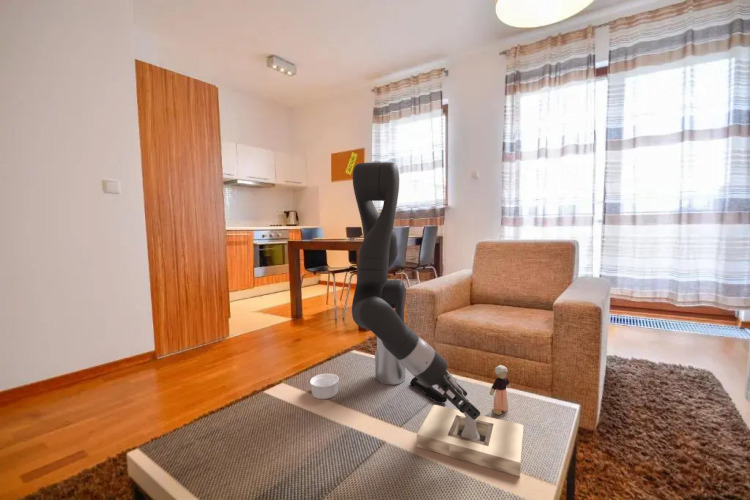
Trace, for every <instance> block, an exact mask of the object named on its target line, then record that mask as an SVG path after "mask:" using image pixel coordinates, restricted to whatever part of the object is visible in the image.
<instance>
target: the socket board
mask: <svg viewBox="0 0 750 500" xmlns="http://www.w3.org/2000/svg"><path fill="white" fill-rule="evenodd" d="M465 417H466V416H465V415H464V413H462V412H460V410H459V409H455V408H451V407H446V406H441V405H438V404H433V406H432V407H431V409H430V411H429V413H428V414H427V416H426V418H425V419H424V421H423V423H422V424H421V426H420V428H419V430H418V432H417V433H416V447H417V448H419V449H420V448H421V449H423V450H428V451H431V452H435V453H438V454H441V455H445V456H448V457H451V458H455V459H458V460H461V461H465V462H469V463H472V464H475V465H478V466H482V467H486V468H489V469H493V470H497V471H498V472H503V473H506V474H509V475H513V476H517V477H521V472H522V470H521V469H522V458H523V444H524V424H521V423H517V422H513V421H508V420H504V419H498V418H496V417H490V416H485V415H481V414H480V415H479V416H478V417H477V418H476V419H477V422H476V428H477V431H478V434H479V436H482V437H483V436H484V437H485V439H484V441H481V440H480V441H478V440H474V439H470V438H466V437H462V436H461V435H458V434H459V431H463V430H464V428H465V419H464V418H465Z"/></svg>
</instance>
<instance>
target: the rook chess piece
mask: <svg viewBox="0 0 750 500" xmlns="http://www.w3.org/2000/svg"><path fill="white" fill-rule="evenodd" d="M464 415H465V416H466V417H465V418H464V419H465V428H464V430H462V432H461V433H460V436H462V437H466V438H470V439H474V440H478V441H481V435H479V434H478V431H477V428H476V422H477V419H475V420H474V419H472V418H471V417H470V416H469V415H468V414H467V413H466V412H464Z"/></svg>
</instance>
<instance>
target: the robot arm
mask: <svg viewBox="0 0 750 500" xmlns="http://www.w3.org/2000/svg"><path fill="white" fill-rule="evenodd" d="M352 186H353V193H354V197H355V201H356V203H357V204H356V206H357V207H358V208H357V209H358V212H359V216H360V220H361V227H362V232H363V239H362V240H363V241H362V243H361V244H360V248H359V251H358V264H357V279H356V283H355V288H354V293H353V298H352V304H351V315H352V316H351V317H352V320H353V322H354V323H355V324H356V325H357V326H358V327H360V328H362V329H368V330H369V331H370V332H372V333H373V335H375V336H376V346H377V347H376V350H375V352H374V374H375V375H374V376H375V377H374V379H375V380H376V381H378V382H380V383H381V384H384V385H392V386H393V385H400V384H402V383H404V381H405V380H406V370H407V371H408V372H409V373H410V374H411V375H412V376H413V377H416V378H417V379H418V380H419V381H420V382H421V383H422V384H423V385H425V386H426V387H431V386H432V387H434V386H437V389H438V391H439V392H440V393H441V394H443V395H444V397H445V398H447V401H449V402H450V403H451V404H453V406H454V407H456V408H457V410H460V412H462V413H464V412H466V413H467V414H468V415H469V416H470V417H471V418H472V419H474V420H475V419H476V418H477V417H478V416H479V415H481V412H480V410H479V409H478V408H477V407H476V406H475V405H474V404H473V403H471V402H470V400H469V398H467V397H466V396H468V393H467V391H466V389H464V388H463V387H462V386H461V385H460V384H459V383H457V380H456V379H455V377H454V376H453V375H452V374H451V373H450V372H449V371H448V370H447V369H448V362H447V360H446V359H445V358H444V357H443V356H442V355H441V354H440V353H439V352H438V351H436V350H435V348H433V347H432V346H431V345H430V344H429V343H428V342H427V341H426V340H424V339H423V338H421V337H420V336H419V335H417V333H416V332H415V331H413V329H411V327H409V326H408V325H407V324H406V323H405V304H406V303H405V302H406V300H405V299H406V286H405V283H404V281H403V280H402V279H401V280H400V279H388V277H389V270H390V269H391V267H392V265H394V264H395V261H396V260H397V257H398V240H397V239H398V238H397V235H396V232H395V231H394V224H395V217H396V212H397V206H398V205H397V204H398V199H399V193H400V172H399V168H398V165H397V164H396V163H395V162H390V161H389V162H388V161H386V162H384V161H383V162H379V161H378V162H377V161H376V162H375V161H374V162H359V163H357V164H355V165H354V168H353V170H352ZM379 201H380V202H383V205H382V208H381V211H380V213H379V211H378V209H377V208H376V206H375V204H374V202H379ZM461 401H462V402H461Z"/></svg>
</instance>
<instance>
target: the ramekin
mask: <svg viewBox="0 0 750 500" xmlns="http://www.w3.org/2000/svg"><path fill="white" fill-rule="evenodd" d="M339 382H340V378H339V376H338V375H337V374H334V373H321V374H317V375H314V376H313V377H312V378H311V379H310V380H309V385H310V389H311V395H312V397H313V398H315V399H318V400H327V399H331V398H333V397H335V396H336V395H338V394H337V393H338V392H339Z"/></svg>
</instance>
